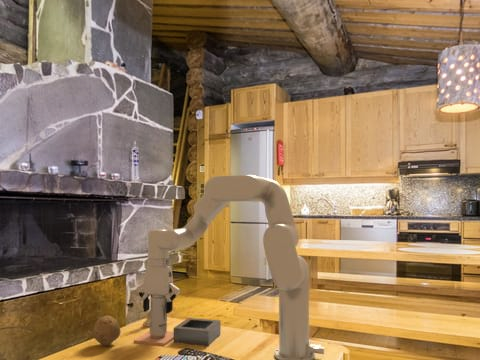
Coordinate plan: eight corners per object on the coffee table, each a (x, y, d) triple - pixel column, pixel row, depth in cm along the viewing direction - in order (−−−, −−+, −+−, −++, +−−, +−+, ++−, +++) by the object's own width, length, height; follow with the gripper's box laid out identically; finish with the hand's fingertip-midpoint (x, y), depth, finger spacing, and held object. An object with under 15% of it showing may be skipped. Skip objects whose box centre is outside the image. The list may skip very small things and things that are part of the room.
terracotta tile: (179, 334, 144) (179, 332, 144) (165, 345, 132) (165, 343, 132) (150, 332, 147) (150, 329, 147) (133, 342, 135) (133, 340, 136)
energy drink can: (162, 339, 136) (163, 295, 137) (146, 337, 137) (148, 294, 139) (169, 334, 142) (170, 292, 143) (154, 332, 143) (155, 291, 145)
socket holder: (220, 334, 144) (220, 320, 145) (208, 346, 132) (208, 331, 132) (188, 331, 148) (188, 317, 148) (173, 342, 135) (173, 328, 136)
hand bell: (159, 327, 153) (159, 286, 154) (139, 326, 154) (140, 285, 156) (167, 321, 161) (167, 282, 162) (148, 320, 163) (149, 281, 164)
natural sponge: (85, 347, 131) (86, 317, 132) (105, 339, 139) (105, 311, 139) (105, 351, 127) (106, 320, 128) (124, 343, 135) (125, 314, 136)
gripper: (184, 262, 143) (184, 310, 142) (142, 260, 148) (141, 307, 146) (175, 265, 136) (175, 316, 134) (131, 263, 140) (130, 312, 139)
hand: (157, 311), depth 140 cm, fingers open, 8 cm apart
